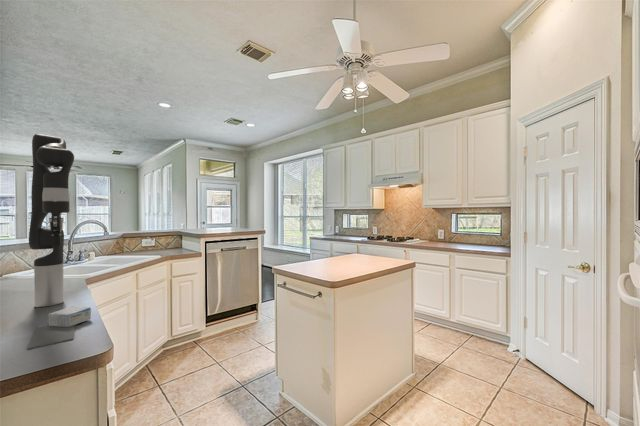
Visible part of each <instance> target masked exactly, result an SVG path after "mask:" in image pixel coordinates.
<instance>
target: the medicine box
mask: <svg viewBox="0 0 640 426" xmlns="http://www.w3.org/2000/svg"><path fill="white" fill-rule="evenodd" d="M91 315H92V308H91V307H89V306H76V305H75V306H69V307H66V308H65V307H64V308H63V309H59V310H57V311H53V312H50V313H48V325H49V326H57V327H70V326H73V325H75V326H76V325H79V324H80V323H81V324H82V323H83V322H84V323H85V322H86V321H89V320H91V319H92V318H91V317H92V316H91Z"/></svg>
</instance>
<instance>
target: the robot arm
mask: <svg viewBox="0 0 640 426" xmlns="http://www.w3.org/2000/svg"><path fill="white" fill-rule="evenodd" d="M31 150H32V176H31V177H32V179H31V196H30V197H31V217H30V224H29V232H28V245H29V248H30V249H31V250H36V251H37V250H52V251H51V252H50V253H49V254H46V255H43V256H40V257H37V258H36V259H34V261H33V266H34V268H33V270H34V271H33V275H34V276H33V277H34V278H33V279H34V283H33V284H34V289H33V290H34V302H33V303H34V307H36V308H41V307H42V308H43V307H49V306H57V305H58V304H62V303H64V301H65V298H64V297H65V296H64V293H65V288H64V280H65V279H64V244H65V232H64V230H63V229H64V221H65V219H64V218H65V217H62V214H66V213H70V192H69V178H70V172H71V169H72V167H73V164H74V161H75V155H74V153H73V152H72V150H70V149H67V142H66V141H65V139H64V138H62V137H60V136H53V135H47V134H40V133H36V134H34V135H33V136H32V142H31ZM49 167H56V168H61V169H60V170H59V171H54V172H52V171H51V170H50V169H49ZM48 214H51V217H48V223H49V227H42V225H43V223H44V220H45V219H46V217H47V215H48Z"/></svg>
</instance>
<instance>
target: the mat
mask: <svg viewBox="0 0 640 426" xmlns="http://www.w3.org/2000/svg"><path fill="white" fill-rule="evenodd" d="M75 328H76V325H73V326H70V327H57V326H49V324H48V325H42V326H37V327H36V328H35V330H34V332H33V334H32V335H31V336H32V337H31V339H30V341H29V343H28V345H27V348H26V350H27V351H28V350H32V349H38V348H42V347H45V346H50V345H56V344H60V343H64V342H68V341H73V340H74V336H75Z"/></svg>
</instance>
